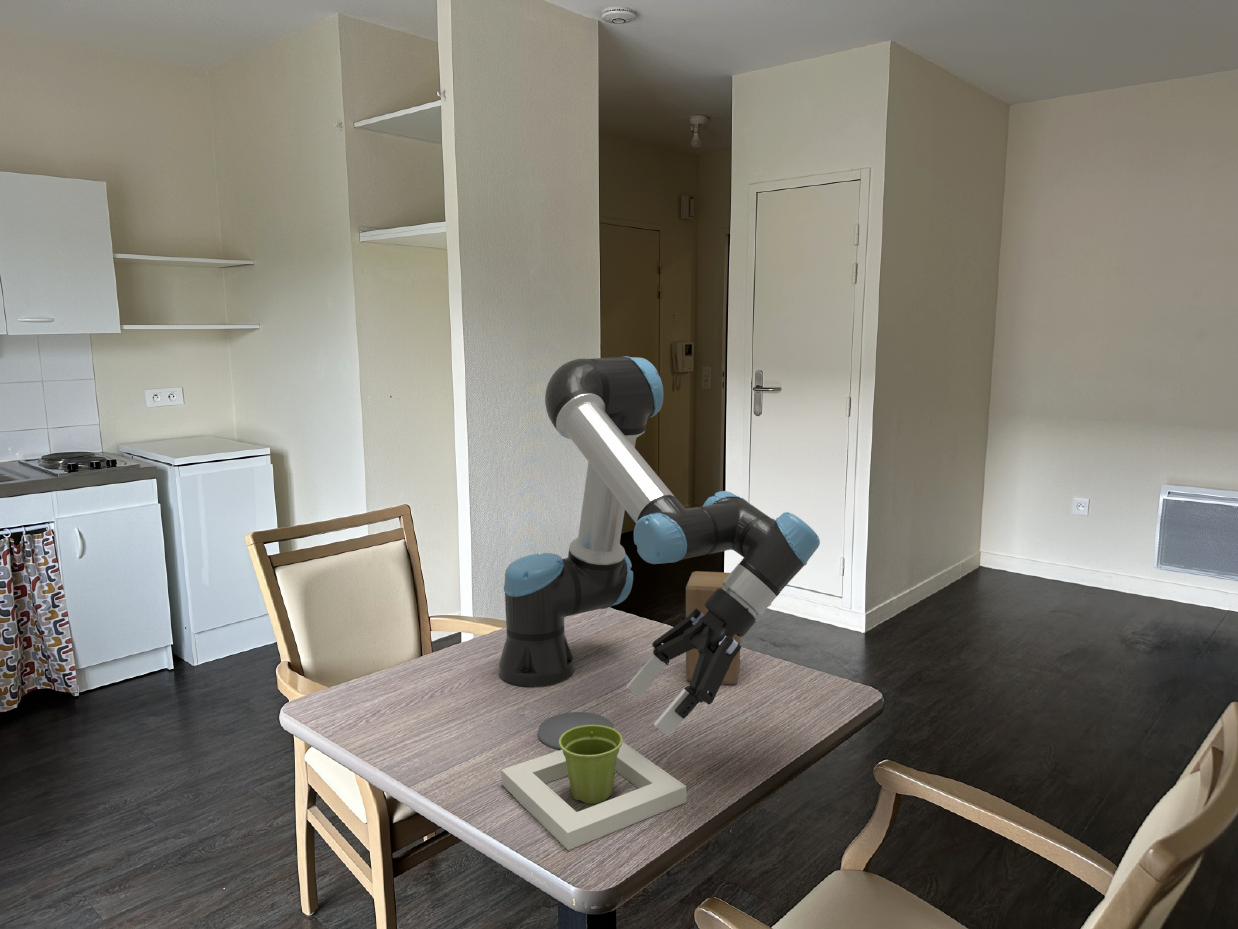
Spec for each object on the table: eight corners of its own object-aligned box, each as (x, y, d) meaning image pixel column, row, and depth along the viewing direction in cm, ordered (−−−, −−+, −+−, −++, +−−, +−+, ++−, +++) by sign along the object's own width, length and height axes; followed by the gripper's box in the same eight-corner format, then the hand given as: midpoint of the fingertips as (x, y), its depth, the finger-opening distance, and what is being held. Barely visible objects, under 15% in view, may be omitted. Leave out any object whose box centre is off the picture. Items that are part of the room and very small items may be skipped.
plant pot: (631, 804, 123) (630, 749, 122) (568, 816, 120) (566, 759, 119) (613, 773, 132) (612, 721, 130) (554, 783, 129) (552, 730, 128)
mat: (524, 728, 147) (524, 725, 147) (588, 708, 154) (588, 705, 154) (562, 759, 136) (562, 755, 136) (628, 736, 143) (628, 733, 143)
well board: (501, 785, 129) (501, 769, 128) (611, 747, 140) (610, 733, 139) (568, 850, 112) (567, 833, 112) (686, 802, 123) (686, 786, 123)
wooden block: (737, 686, 163) (737, 586, 159) (685, 683, 165) (685, 584, 161) (740, 666, 172) (740, 571, 169) (691, 663, 174) (691, 569, 171)
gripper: (794, 645, 117) (693, 764, 115) (722, 593, 140) (638, 691, 139) (759, 613, 114) (655, 733, 113) (692, 565, 138) (606, 664, 136)
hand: (645, 710), depth 126 cm, fingers open, 13 cm apart
